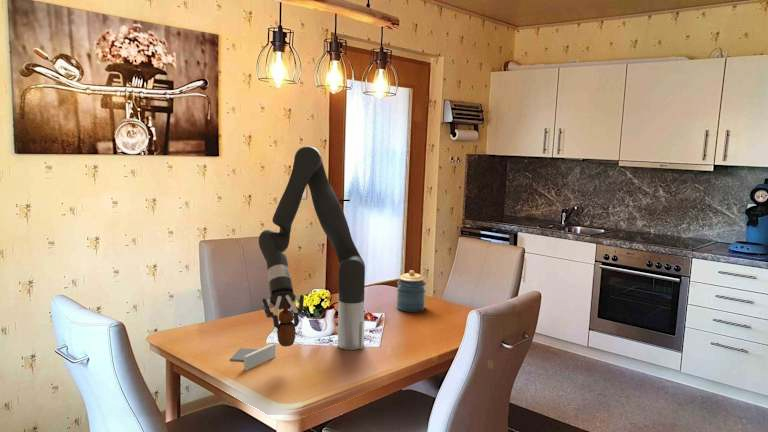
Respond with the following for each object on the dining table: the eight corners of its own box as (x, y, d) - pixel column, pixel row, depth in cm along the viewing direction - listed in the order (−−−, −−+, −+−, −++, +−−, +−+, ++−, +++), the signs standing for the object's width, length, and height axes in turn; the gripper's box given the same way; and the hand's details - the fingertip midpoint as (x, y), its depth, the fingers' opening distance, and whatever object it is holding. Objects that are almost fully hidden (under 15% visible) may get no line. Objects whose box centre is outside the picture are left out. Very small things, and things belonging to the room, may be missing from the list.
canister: (406, 302, 264) (407, 265, 261) (430, 307, 256) (431, 269, 254) (390, 308, 253) (391, 270, 251) (414, 314, 246) (416, 275, 243)
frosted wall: (272, 355, 194) (272, 343, 194) (275, 356, 194) (275, 344, 193) (243, 369, 182) (243, 356, 182) (246, 370, 182) (246, 357, 181)
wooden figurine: (278, 341, 186) (277, 297, 184) (296, 340, 186) (295, 296, 184) (276, 348, 179) (275, 303, 177) (294, 348, 180) (293, 302, 178)
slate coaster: (267, 351, 198) (267, 349, 198) (259, 362, 188) (259, 360, 188) (240, 349, 199) (240, 348, 199) (230, 360, 189) (230, 359, 189)
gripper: (259, 277, 184) (265, 323, 175) (302, 273, 189) (310, 318, 180) (257, 288, 190) (263, 334, 181) (299, 285, 195) (307, 329, 185)
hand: (287, 326), depth 180 cm, fingers closed on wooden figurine, 5 cm apart
